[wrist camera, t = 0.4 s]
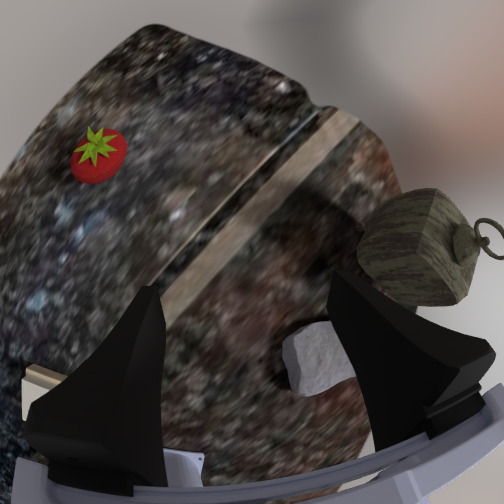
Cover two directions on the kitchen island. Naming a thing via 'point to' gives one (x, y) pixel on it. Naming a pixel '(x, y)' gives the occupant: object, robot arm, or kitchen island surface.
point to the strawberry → (98, 156)
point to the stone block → (315, 359)
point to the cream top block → (33, 391)
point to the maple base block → (45, 374)
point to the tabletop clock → (422, 248)
